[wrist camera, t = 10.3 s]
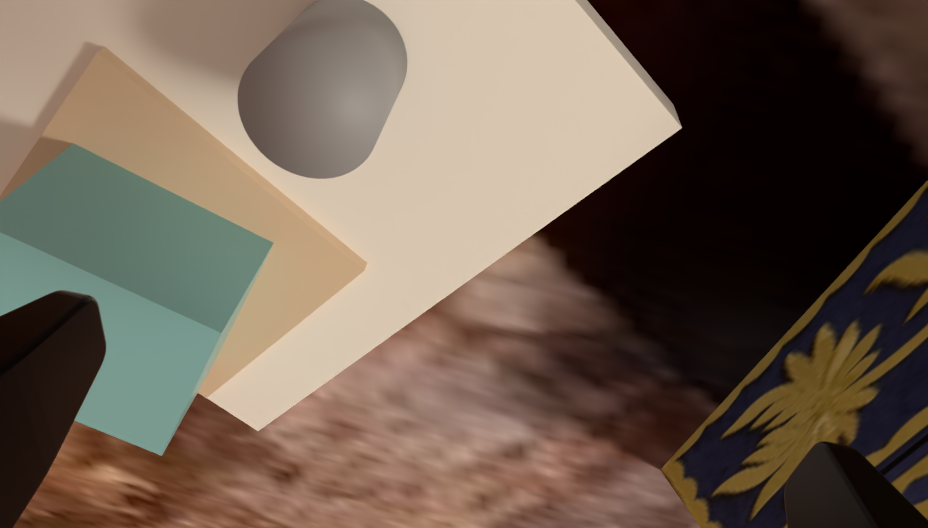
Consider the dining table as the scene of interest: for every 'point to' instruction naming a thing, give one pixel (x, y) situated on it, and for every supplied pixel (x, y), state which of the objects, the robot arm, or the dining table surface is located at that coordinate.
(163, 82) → the board
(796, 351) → the decorative box
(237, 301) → the mint green cube
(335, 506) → the dining table surface
